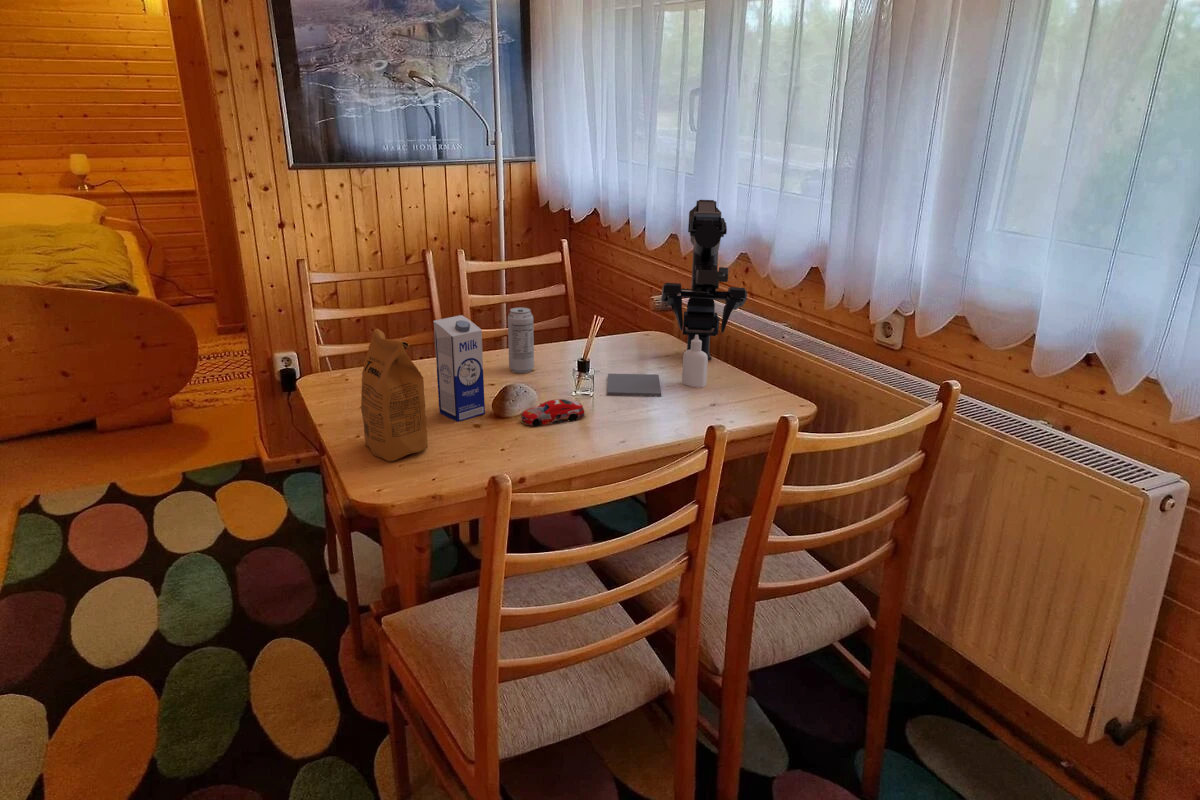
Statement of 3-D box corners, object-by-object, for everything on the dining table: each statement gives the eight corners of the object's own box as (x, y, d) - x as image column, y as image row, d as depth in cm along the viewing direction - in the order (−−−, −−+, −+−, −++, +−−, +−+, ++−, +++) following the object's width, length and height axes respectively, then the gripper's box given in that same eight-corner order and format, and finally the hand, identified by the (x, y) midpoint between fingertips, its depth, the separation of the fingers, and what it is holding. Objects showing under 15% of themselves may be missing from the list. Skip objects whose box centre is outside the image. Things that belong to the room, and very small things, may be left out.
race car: (525, 430, 154) (525, 411, 153) (517, 420, 159) (517, 402, 157) (587, 421, 159) (587, 403, 157) (578, 412, 164) (578, 394, 162)
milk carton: (466, 405, 166) (462, 313, 159) (485, 413, 161) (482, 320, 154) (438, 413, 161) (432, 319, 154) (457, 422, 156) (452, 326, 149)
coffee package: (406, 431, 152) (398, 322, 144) (435, 453, 143) (427, 337, 135) (357, 443, 146) (345, 330, 138) (383, 466, 137) (372, 347, 129)
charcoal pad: (607, 376, 184) (608, 373, 184) (658, 377, 184) (658, 374, 184) (607, 395, 172) (607, 392, 172) (661, 396, 172) (661, 393, 172)
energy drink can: (533, 366, 191) (532, 306, 186) (534, 373, 186) (533, 312, 180) (508, 366, 190) (507, 307, 185) (509, 374, 185) (507, 313, 180)
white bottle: (695, 379, 183) (698, 330, 179) (708, 387, 178) (711, 337, 174) (679, 382, 181) (682, 332, 177) (692, 389, 177) (695, 339, 172)
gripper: (667, 249, 169) (663, 318, 166) (752, 255, 168) (750, 324, 166) (662, 267, 180) (659, 332, 177) (743, 272, 179) (740, 337, 177)
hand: (701, 331), depth 174 cm, fingers open, 9 cm apart
